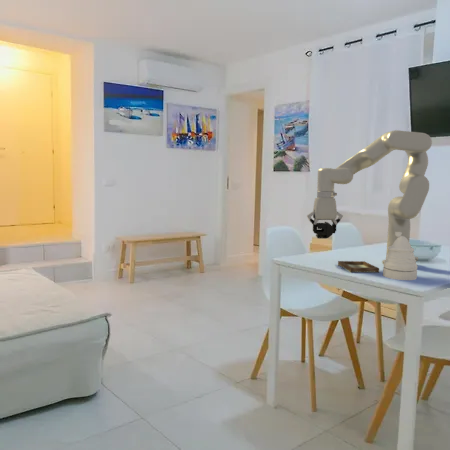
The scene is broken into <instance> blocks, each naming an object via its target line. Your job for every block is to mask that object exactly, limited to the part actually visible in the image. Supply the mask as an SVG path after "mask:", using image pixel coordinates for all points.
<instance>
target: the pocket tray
mask: <svg viewBox="0 0 450 450" xmlns="http://www.w3.org/2000/svg"><path fill="white" fill-rule="evenodd" d="M337 266H339V267H340V268H342V269H344V270H346V271H347V272H350V273H380V268H379V267H378V266H375V265H374V264H371V263H369V262H368V261H367V262H366V261H365V260H364V261H363V260H362V261H357V260H351V261H350V260H338V261H337Z"/></svg>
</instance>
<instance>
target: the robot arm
mask: <svg viewBox="0 0 450 450" xmlns="http://www.w3.org/2000/svg"><path fill="white" fill-rule="evenodd" d="M432 144H433V140H432V138H431V136H430V134H427V133H425V132H419V131H407V130H399V129H398V130H397V129H395V130H391V131H387V132H385V133H383V134H381V135H380V136H379V137H378V138H375V140H374V141H373V142H371V143H369V145H367V146H365V147H364V148H362V149H361V150H360V151H358V152H357V153H355V154H354V155H353V156H351V157H350V158H348V159H347V160H345V161H344V162H343V163H341V164H339V165H338V166H337V167H335V168H332V167H330V168H329V167H321V168H319V169H318V170H317V183H316V184H317V187H316V188H317V191H316V192H317V193H316V197H315V198H314V203H313V210H312V211H311V212H310V213H308V214H307V215H306V218H307V219H308V221H309V222H310V223H311V225H312V232H313V233H314V234H315V235H317V234H316V233H317V229H318V227H317V225H316V224H317V223H319V221H331V223H332V224H331V226H332V227H333V229H334V232H333V234H336V232H337V225H338V224H339V223H340V222H341V220H342V219H343V218H344V217H343V216H344V215H343V214H342V213H340V212H338V211H337V210H338V209H337V201H336V198H335V196H338V195H337V194H338V193H337V192H335V184H337V185H347V184H350V183H351V182H352V181H353V179H354V175H355V174H357V173H358V172H360V171H363V170H364V169H367V168H370V167H371V166H373V165H375V164H376V163H378V162H379V161H380V160H382V159H383V158H384V157H386V156H387V155H389V154H391V152H393V151H396V150H397V151H404V152H405V153H406V156H407V158H408V159H407V164H406V168H405V170H404V172H403V175H402V177H401V178H400V182H399V186H398V187H399V191H400V192H401V193H402V194H403V195H402V196H395V197H393V198H392V199H390V201H389V203H388V206H387V216H388V218H387V219H388V228H387V240H386V253H385V254H386V257H387V254H388V253H389V251H390V250H389V249H388V247H389V246H392V245H393V243H394V242H395V240H396V239H397V238H398V237H397V236H396V235H395V232H402V234H401V236H404V237H406V238H407V240H408V241H409V242H410V238H411V237H410V236H411V219H414V218H415V217H417V216H418V215H419V213H420V212H421V210H422V208H423V205H424V203H425V200H426V198H427V196H428V193H429V190H430V181H429V179H428V177H426V176H425V174H426V172H427V169H428V166H429V156H428V153H427V151H429V150H430V149H431V147H432ZM337 216H338V217H337ZM386 257H385V258H386ZM385 260H386V259H382V261H381V263H382V264H383V265H384V261H385ZM415 260H416V262H418V261H419V257H417V256H415Z"/></svg>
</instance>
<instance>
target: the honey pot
mask: <svg viewBox="0 0 450 450" xmlns="http://www.w3.org/2000/svg"><path fill="white" fill-rule="evenodd" d="M401 234H402V232H395V235H396V236H397V237H398V238H397V239H396V240H395V242H394V243H393V245H392V246H389V247H388V249H389V250H390V251H389V253H388V254H387V257H385V259H384V260H385V261H384V264H383V269H382V276H383V277H384V278H386V279H392V280H397V281H398V280H399V281H415V280H417V278H418V277H417V276H418V264H417V261H416V260H415V257H416V256H415V254H414V252H415V249H414V248H413V247H412V245H411V243H410V240H409V241H408V240H407V238H406V237H404V236H401Z"/></svg>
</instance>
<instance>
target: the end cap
mask: <svg viewBox="0 0 450 450" xmlns="http://www.w3.org/2000/svg"><path fill="white" fill-rule="evenodd" d="M316 225H317V233H316V234H315V237H316V238H317V239H329V238H330V237H331V236H333V235H334V233H333V232H334V229H333V227H332V224H331V223H329V222H328V221H324V222H317V224H316Z"/></svg>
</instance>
